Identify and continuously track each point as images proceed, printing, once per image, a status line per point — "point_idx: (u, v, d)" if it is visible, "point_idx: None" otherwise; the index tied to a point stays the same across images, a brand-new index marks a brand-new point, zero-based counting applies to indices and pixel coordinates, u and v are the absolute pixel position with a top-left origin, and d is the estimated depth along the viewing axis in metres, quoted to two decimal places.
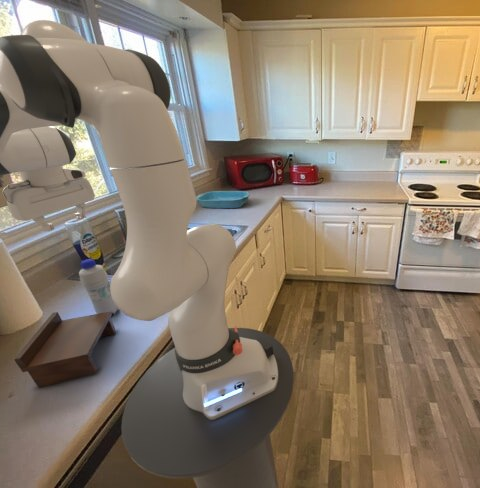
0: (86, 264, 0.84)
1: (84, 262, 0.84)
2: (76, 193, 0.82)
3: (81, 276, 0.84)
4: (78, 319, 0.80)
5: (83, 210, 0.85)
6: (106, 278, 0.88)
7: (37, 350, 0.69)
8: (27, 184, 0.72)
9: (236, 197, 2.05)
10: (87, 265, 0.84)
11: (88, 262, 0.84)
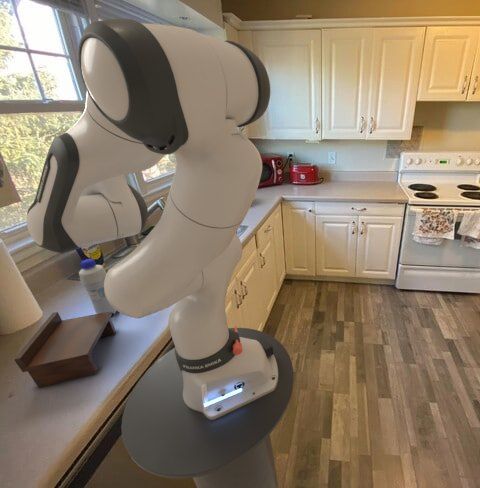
0: (86, 264, 0.84)
1: (84, 262, 0.84)
2: None
3: (81, 276, 0.84)
4: (78, 319, 0.80)
5: None
6: None
7: (37, 350, 0.69)
8: None
9: None
10: (87, 265, 0.84)
11: (88, 262, 0.84)
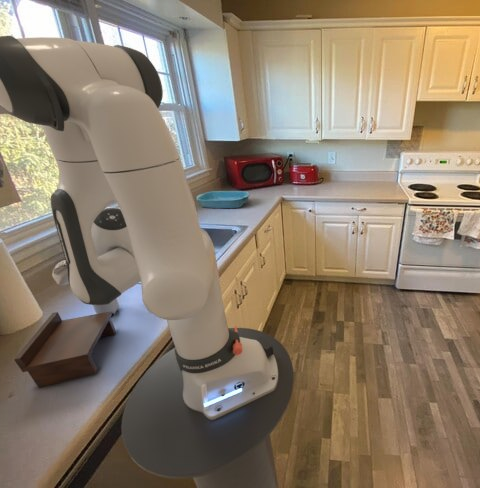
0: None
1: None
2: None
3: None
4: (78, 319, 0.80)
5: None
6: None
7: (37, 350, 0.69)
8: None
9: (236, 197, 2.05)
10: None
11: None
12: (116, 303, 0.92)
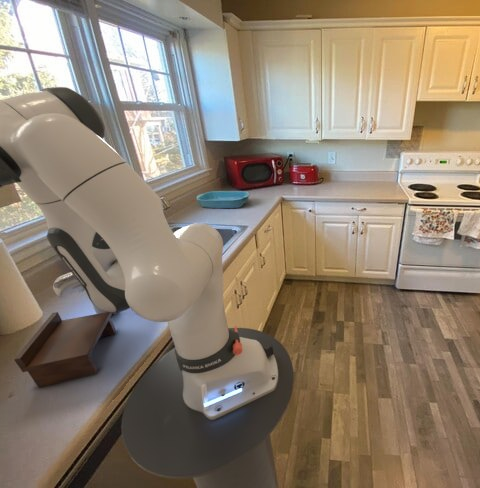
0: None
1: None
2: None
3: None
4: (78, 319, 0.80)
5: None
6: None
7: (37, 350, 0.69)
8: None
9: (236, 197, 2.05)
10: None
11: None
12: None
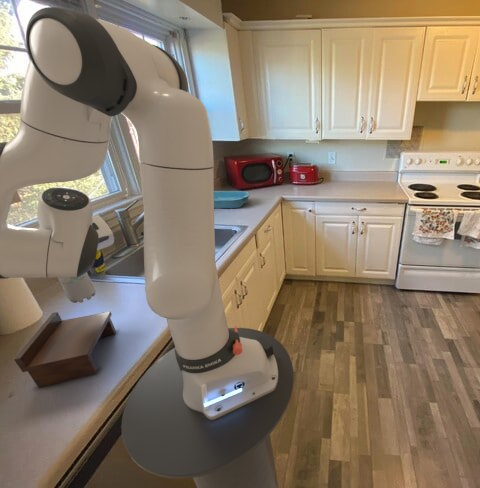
0: None
1: None
2: None
3: None
4: (78, 319, 0.80)
5: None
6: None
7: (37, 350, 0.69)
8: None
9: (236, 197, 2.05)
10: None
11: None
12: (91, 287, 0.79)
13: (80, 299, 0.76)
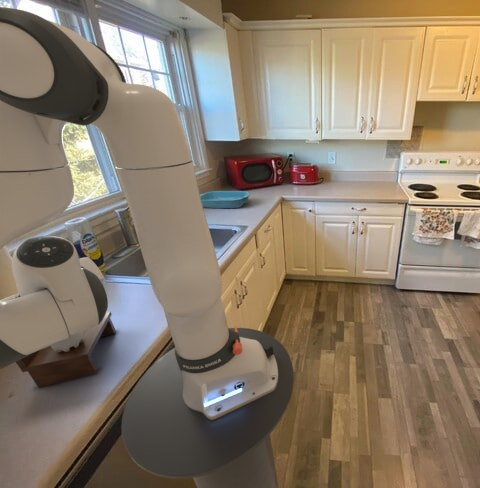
0: None
1: None
2: None
3: None
4: None
5: None
6: None
7: None
8: None
9: (236, 197, 2.05)
10: None
11: None
12: (79, 333, 0.70)
13: (65, 348, 0.68)
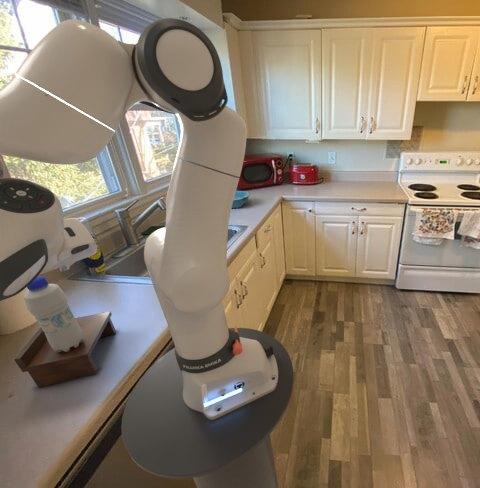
0: (33, 284, 0.61)
1: None
2: (68, 258, 0.57)
3: (26, 300, 0.61)
4: (78, 319, 0.80)
5: (69, 264, 0.61)
6: (63, 302, 0.66)
7: (37, 350, 0.69)
8: None
9: (236, 197, 2.05)
10: (34, 285, 0.61)
11: (35, 282, 0.61)
12: (79, 333, 0.70)
13: (65, 348, 0.68)
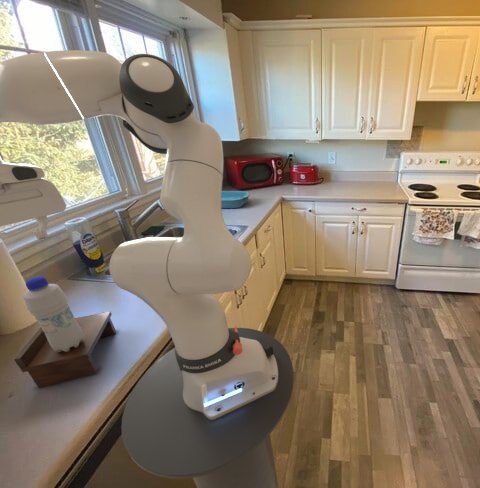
0: (33, 284, 0.61)
1: (30, 281, 0.61)
2: (28, 202, 0.53)
3: (26, 300, 0.61)
4: (78, 319, 0.80)
5: (43, 227, 0.57)
6: (63, 302, 0.66)
7: (37, 350, 0.69)
8: None
9: (236, 197, 2.05)
10: (34, 285, 0.61)
11: (35, 282, 0.61)
12: (79, 333, 0.70)
13: (65, 348, 0.68)
